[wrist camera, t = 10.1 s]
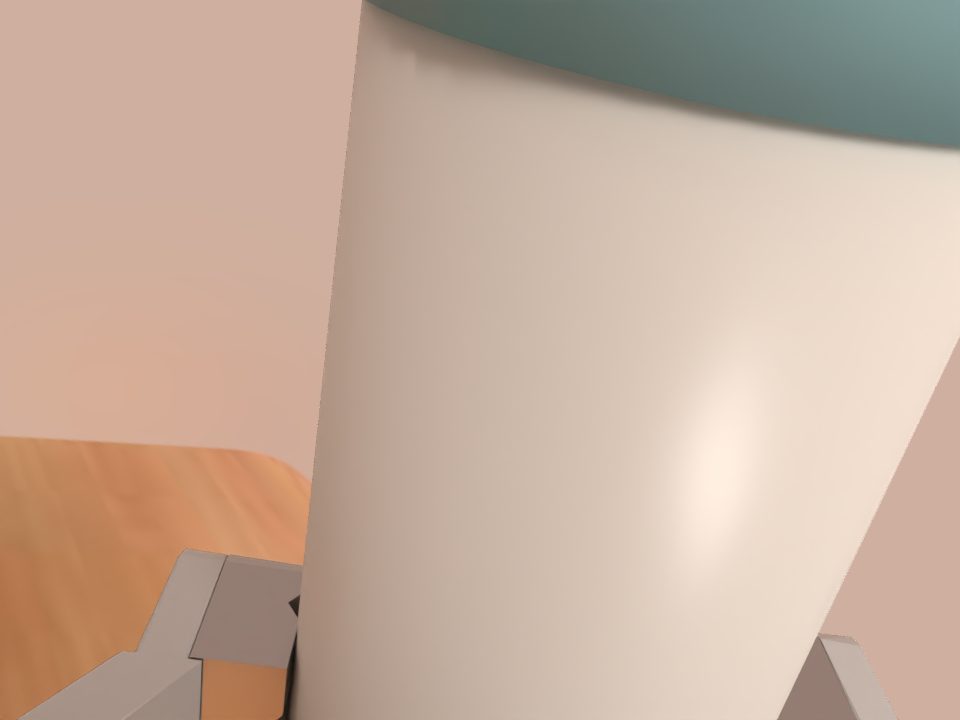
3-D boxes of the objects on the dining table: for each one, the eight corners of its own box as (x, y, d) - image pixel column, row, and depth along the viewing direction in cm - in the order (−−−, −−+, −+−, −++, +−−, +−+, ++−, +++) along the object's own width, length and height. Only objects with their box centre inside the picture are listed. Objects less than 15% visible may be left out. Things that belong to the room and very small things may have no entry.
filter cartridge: (164, 1178, 13) (194, -465, 4) (351, 867, 17) (543, -249, 9) (499, 1416, 11) (1494, -355, 3) (608, 1009, 16) (1131, -161, 7)
